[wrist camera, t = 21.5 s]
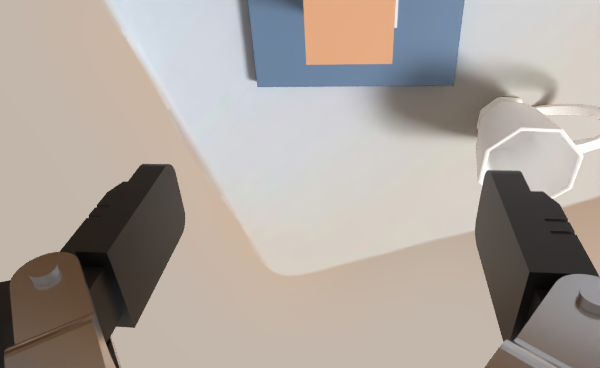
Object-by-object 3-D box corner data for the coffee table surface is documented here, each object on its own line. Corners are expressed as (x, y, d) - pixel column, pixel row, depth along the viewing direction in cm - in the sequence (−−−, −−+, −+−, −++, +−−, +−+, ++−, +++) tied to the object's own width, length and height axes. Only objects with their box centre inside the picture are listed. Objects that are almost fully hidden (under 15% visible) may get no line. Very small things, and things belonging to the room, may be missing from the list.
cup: (451, 96, 40) (467, 142, 33) (583, 55, 37) (630, 97, 30) (469, 164, 43) (487, 219, 36) (591, 132, 40) (636, 186, 33)
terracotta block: (393, -45, 29) (397, -30, 25) (389, 37, 32) (392, 63, 28) (311, -42, 30) (301, -27, 25) (314, 39, 32) (306, 64, 28)
